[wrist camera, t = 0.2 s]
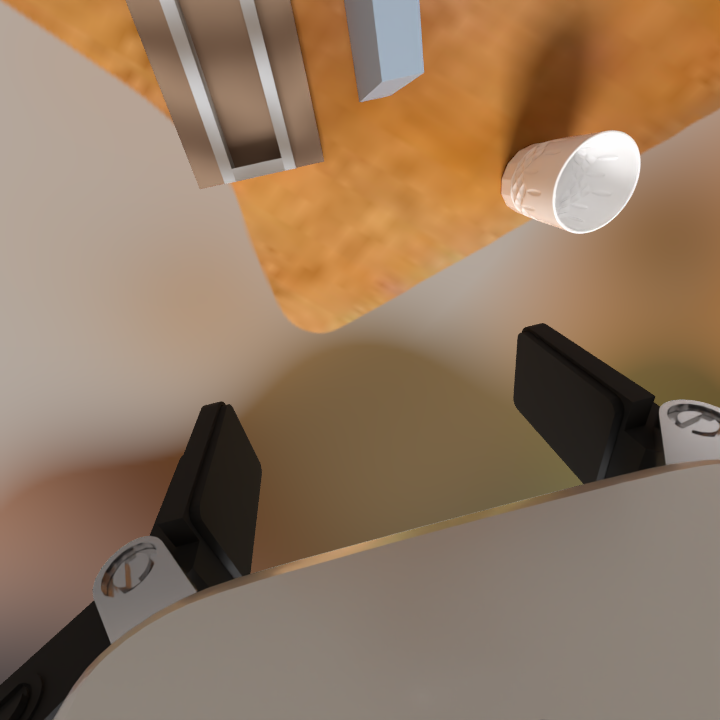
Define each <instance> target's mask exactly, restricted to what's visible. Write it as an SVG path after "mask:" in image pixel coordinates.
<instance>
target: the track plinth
mask: <svg viewBox="0 0 720 720" xmlns="http://www.w3.org/2000/svg"><path fill="white" fill-rule="evenodd" d="M126 3H127V5H128V8H129V10H130V13H131V16H132V18H133V21H134V23H135V26H136V28H137V31H138V33H139V36H140V38H141V41H142V43H143V46H144V49H145V51H146V54H147V56H148V59H149V61H150V64H151V66H152V69H153V71H154V74H155V76H156V79H157V81H158V84H159V87H160V89H161V92H162V94H163V97H164V99H165V102H166V104H167V107H168V109H169V112H170V114H171V117H172V120H173V122H174V125H175V127H176V130H177V132H178V135H179V137H180V140H181V142H182V145H183V147H184V150H185V152H186V155H187V157H188V160H189V163H190V165H191V167H192V170H193V173H194V175H195V178H196V180H197V183H198V185H199V188H200V189H202V188H207V187H212V186H216V185H221V184H227V183H232V182H236V181H241V180H245V179H250V178H254V177H259V176H263V175H267V174H272V173H276V172H281V171H285V170H290V169H294V168H297V167H301V166H306V165H310V164H315V163H319V162H324V158H323V154H322V149H321V144H320V139H319V135H318V130H317V125H316V121H315V116H314V111H313V106H312V102H311V97H310V92H309V87H308V83H307V78H306V73H305V68H304V64H303V59H302V54H301V50H300V45H299V40H298V35H297V31H296V26H295V21H294V16H293V12H292V7H291V2H290V0H126Z"/></svg>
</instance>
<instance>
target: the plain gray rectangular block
mask: <svg viewBox="0 0 720 720" xmlns="http://www.w3.org/2000/svg"><path fill="white" fill-rule="evenodd" d="M344 3H345V9H346V16H347V23H348V29H349V36H350V42H351V49H352V56H353V62H354V69H355V76H356V82H357V89H358V95H359V102H363V101H368V100H372V99H377V98H382V97H386V96H391V95H392V94H394V93H395V92H396V91H398V90H399V89H401V88H402V87H404V86H405V85H407V84H408V83H410V82H411V81H413V80H414V79H416V78H417V77H418V76H420V75H421V74H423V73H424V64H423V50H422V35H421V20H420V5H419V0H344Z"/></svg>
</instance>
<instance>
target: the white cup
mask: <svg viewBox="0 0 720 720" xmlns="http://www.w3.org/2000/svg"><path fill="white" fill-rule="evenodd" d="M640 164H641V161H640V153H639V149H638V147H637V144H636V143H635V141H634V140H633V139H632V138H631V137H630V136H629V135H628V134H626V133H624V132H621V131H615V130H610V131H603V132H597V133H591V134H584V135H577V136H571V137H565V138H561V139H555V140H551V141H547V142H544V143H536V144H532V145H530V146H528V147H526V148H524V149H522V150H520V151H518V153H517V154H516V155H515V156H514V157H513V158H512V159H511V161H510V162H509V163H508V165H507V167H506V170H505V172H504V175H503V177H502V189H501V194H502V196H503V199H504V201H505V203H506V205H507V206H508V207H509V208H511V209H512V210H514V211H515V212H517V213H521V214H523V215H525V216H527V217H530V218H532V219H535V220H538V221H540V222H543V223H546V224H549V225H552V226H555V227H558V228H561V229H563V230H566V231H569V232H572V233H588V232H592V231H595V230H597V229H599V228H601V227H603V226H604V225H606V224H607V223H609V222H610V221H611V220H612V219H613V218H615V217H616V216H617V215H618V214H619V213H620V211H621V210H622V209H623V208H624V207H625V205H626V204H627V202H628V201H629V199H630V197H631V196H632V194H633V192H634V189H635V187H636V184H637V181H638V178H639V174H640Z"/></svg>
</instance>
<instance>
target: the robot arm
mask: <svg viewBox="0 0 720 720" xmlns="http://www.w3.org/2000/svg"><path fill="white" fill-rule="evenodd" d="M654 399H655V396H654V395H653V394H651V393H650V392H648V391H647V390H645V389H644V388H642V387H641V386H639V385H638V384H636V383H635V382H633V381H631V380H630V379H628V378H627V377H625V376H624V375H622V374H621V373H619V372H618V371H616V370H615V369H613V368H611V367H610V366H609V365H607V364H606V363H604V362H602V361H601V360H600V359H598V358H597V357H595V356H593V355H592V354H590V353H589V352H587V351H585V350H584V349H583V348H581V347H580V346H578V345H577V344H575V343H574V342H572V341H571V340H569V339H568V338H566V337H565V336H563V335H561V334H560V333H559V332H557V331H555V330H554V329H552V328H551V327H549V326H548V325H546V324H544V323H542V324H537V325H533V326H529V327H525V328H524V329H523V331H522V333H520V334H519V335H518V340H517V355H516V370H515V383H514V404H515V406H516V408H517V409H518V410H519V411H520V413H521V414H522V415H523V416H524V417H525V418H526V419H527V420H528V422H529V423H530V424H531V425H532V426H533V427H534V428H535V430H536V431H537V432H538V433H539V434H540V435H541V436H542V437H543V438H544V440H545V441H546V442H547V443H548V444H549V445H550V446H551V448H552V449H553V450H554V451H555V452H556V453H557V454H558V456H559V457H560V458H561V459H562V460H563V461H564V462H565V463H566V465H567V466H568V467H569V468H570V469H571V470H572V471H573V472H574V474H575V475H576V476H577V477H578V478H579V479H580V480H581V481H582V483H583V485H579V486H575V487H572V488H568V489H564V490H560V491H556V492H552V493H549V494H545V495H541V496H537V497H533V498H529V499H525V500H521V501H518V502H514V503H510V504H506V505H502V506H498V507H495V508H491V509H487V510H483V511H480V512H476V513H472V514H468V515H464V516H461V517H457V518H453V519H450V520H446V521H442V522H438V523H434V524H431V525H427V526H423V527H419V528H415V529H412V530H408V531H404V532H401V533H397V534H393V535H389V536H386V537H382V538H378V539H375V540H371V541H367V542H363V543H360V544H356V545H353V546H349V547H345V548H341V549H338V550H334V551H330V552H326V553H323V554H319V555H315V556H312V557H308V558H304V559H301V560H297V561H294V562H290V563H287V564H283V565H280V566H276V567H273V568H270V569H266V570H263V571H260V572H256V573H253V574H250V572H251V563H252V553H253V545H254V536H255V528H256V519H257V511H258V502H259V493H260V484H261V476H262V469H261V464H260V462H259V460H258V458H257V456H256V454H255V452H254V450H253V448H252V446H251V444H250V441H249V440H248V437H247V436H246V433H245V431H244V429H243V427H242V425H241V423H240V421H239V419H238V417H237V415H236V413H235V411H234V409H233V407H232V406H231V405H230V404H228V405H225V403H224V402H217V403H213V404H209V405H205V406H203V407H202V408H201V411H200V413H199V416H198V419H197V421H196V424H195V426H194V429H193V432H192V434H191V437H190V439H189V442H188V444H187V447H186V450H185V452H184V455H183V456H182V457H181V458H180V460H179V463H178V465H177V468H176V470H175V473H174V475H173V478H172V480H171V483H170V485H169V488H168V491H167V493H166V496H165V498H164V501H163V503H162V506H161V508H160V511H159V513H158V516H157V518H156V521H155V524H154V526H153V529H152V531H151V534H150V536H146V537H141V538H138V539H136V540H134V541H131V542H129V543H128V544H127V545H125V546H123V547H122V548H120V549H119V550H118V551H117V552H116V553H115V554H114V555H113V556H112V557H110V559H109V560H108V561H107V562H106V563H105V565H104V566H103V567H102V568H101V570H100V572H99V574H98V576H97V577H96V579H95V583H94V587H93V597H94V601H93V602H92V603H91V604H90V605H89V606H87V607H86V608H85V609H84V610H83V611H82V612H81V613H80V614H79V615H77V617H75V618H74V619H73V620H72V621H71V622H70V623H69V624H68V625H66V626H65V627H64V628H63V629H62V630H61V631H60V632H59V633H58V634H57V635H55V636H54V637H53V638H52V639H51V640H50V641H49V642H48V643H46V645H44V646H43V647H42V648H41V649H40V650H39V651H38V652H37V653H35V654H34V655H33V656H32V657H31V658H30V659H29V660H28V661H27V662H26V663H24V664H23V665H22V666H21V667H20V668H19V669H18V670H17V671H15V672H14V673H13V674H12V675H11V676H10V677H9V678H8V679H7V680H6V681H4V682H3V683H2V684H1V685H0V720H720V408H718V407H716V406H713V405H710V404H707V403H703V402H698V401H693V400H672V401H669V402H667V403H664V404H663V405H662V406H661V407H660V406H658V405H657V404H655V403H654Z"/></svg>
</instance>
